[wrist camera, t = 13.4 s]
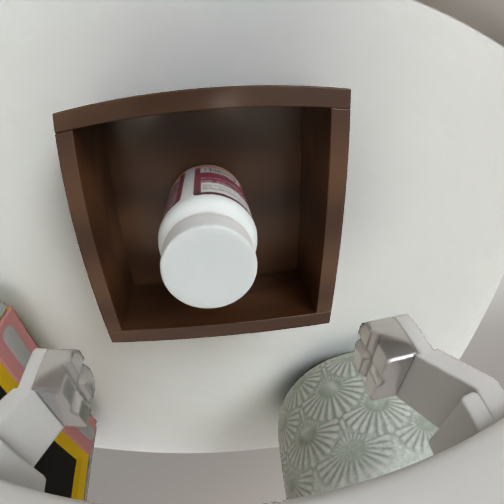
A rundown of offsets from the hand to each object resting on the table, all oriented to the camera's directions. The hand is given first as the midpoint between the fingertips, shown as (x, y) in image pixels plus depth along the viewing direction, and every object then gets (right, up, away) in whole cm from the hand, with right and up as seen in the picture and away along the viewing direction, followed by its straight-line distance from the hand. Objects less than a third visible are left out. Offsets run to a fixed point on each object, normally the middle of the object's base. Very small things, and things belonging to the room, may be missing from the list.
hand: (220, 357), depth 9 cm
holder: (-2, +7, +12) cm, 14 cm away
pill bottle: (-2, +6, +12) cm, 14 cm away
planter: (+10, -11, +25) cm, 29 cm away
